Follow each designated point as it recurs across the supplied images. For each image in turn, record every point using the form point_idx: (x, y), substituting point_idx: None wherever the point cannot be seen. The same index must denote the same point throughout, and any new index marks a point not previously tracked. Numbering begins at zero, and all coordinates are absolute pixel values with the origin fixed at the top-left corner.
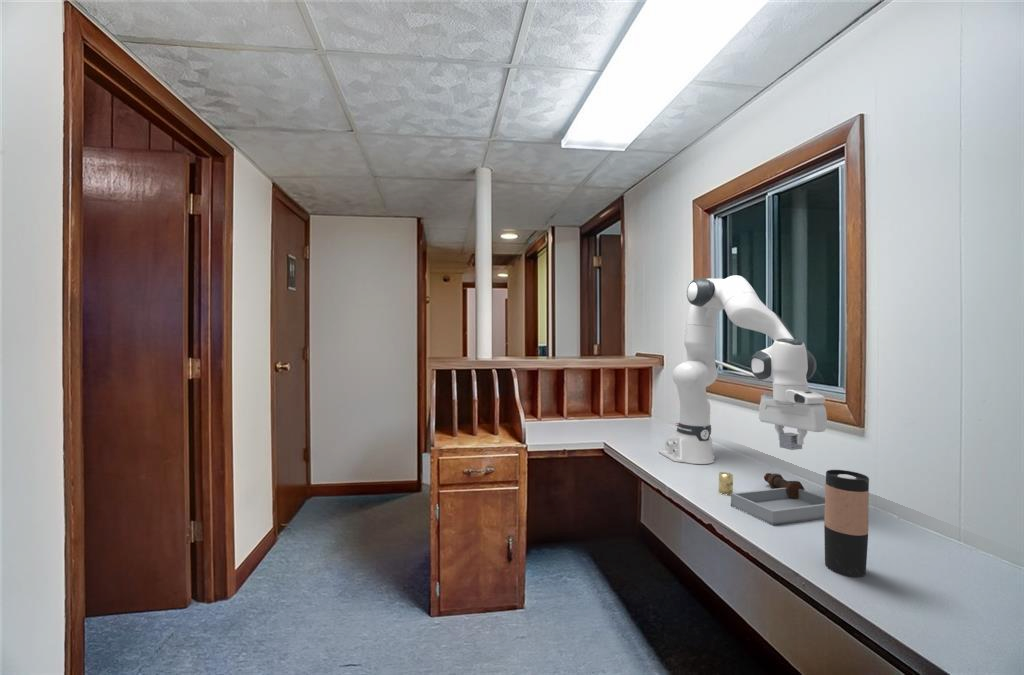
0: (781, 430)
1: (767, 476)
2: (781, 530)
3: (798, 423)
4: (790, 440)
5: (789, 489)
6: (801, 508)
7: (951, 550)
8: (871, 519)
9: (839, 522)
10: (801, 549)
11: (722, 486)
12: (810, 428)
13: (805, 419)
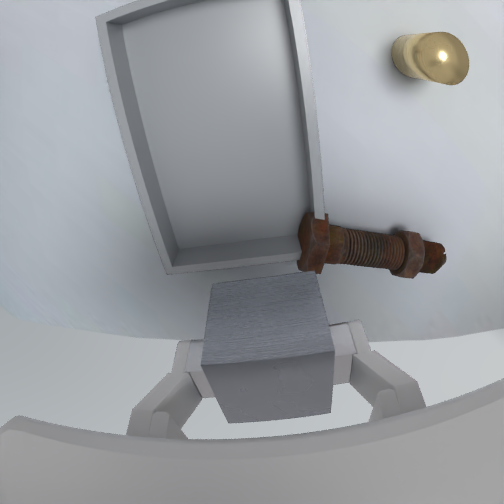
0: (372, 394)
1: (433, 250)
2: (83, 30)
3: (111, 477)
4: (211, 332)
5: (309, 223)
6: (120, 128)
7: (40, 301)
8: (157, 300)
9: None
10: (4, 34)
11: (415, 34)
12: (27, 433)
13: (42, 501)
